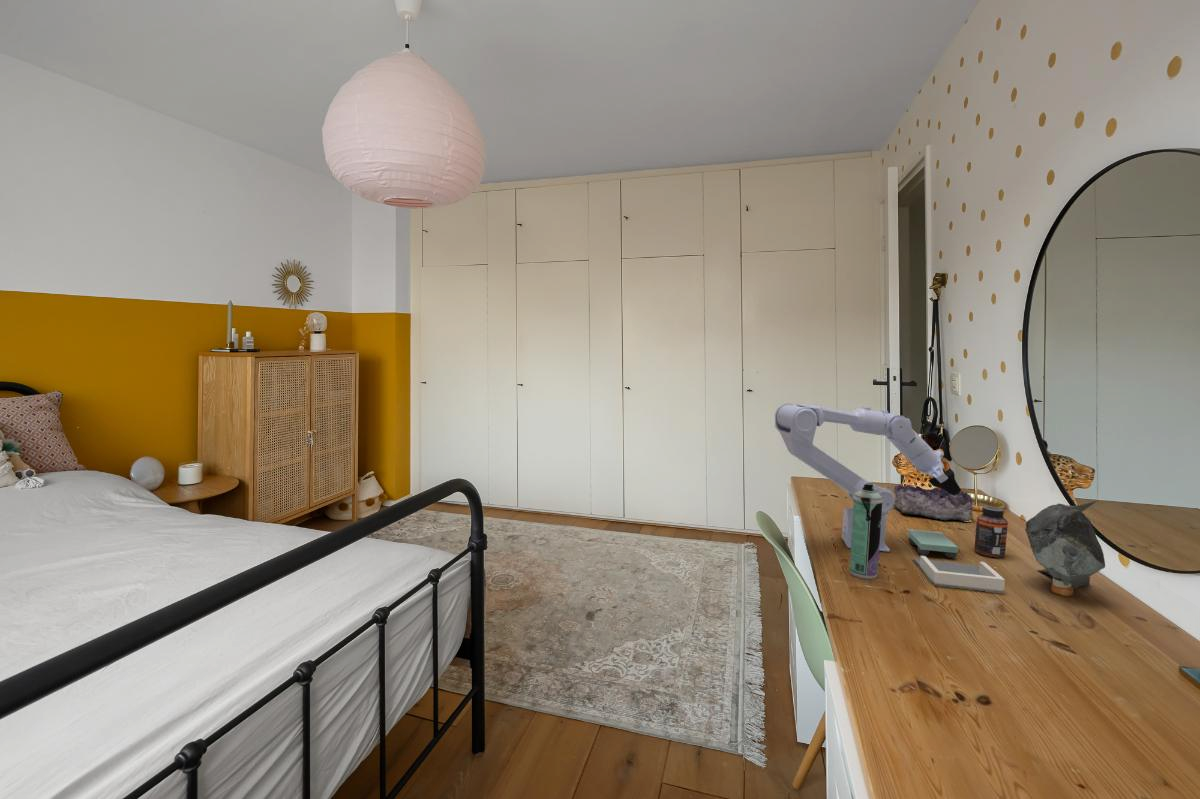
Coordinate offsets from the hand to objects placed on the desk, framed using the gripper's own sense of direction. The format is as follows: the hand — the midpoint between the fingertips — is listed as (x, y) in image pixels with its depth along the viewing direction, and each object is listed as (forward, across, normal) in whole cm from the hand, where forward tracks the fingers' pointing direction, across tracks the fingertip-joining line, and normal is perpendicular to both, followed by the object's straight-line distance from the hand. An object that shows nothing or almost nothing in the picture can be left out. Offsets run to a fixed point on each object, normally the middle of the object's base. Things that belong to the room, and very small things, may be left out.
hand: (949, 484), depth 132 cm
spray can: (-14, -27, +25) cm, 40 cm away
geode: (+20, +18, +10) cm, 29 cm away
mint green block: (+4, -11, +13) cm, 18 cm away
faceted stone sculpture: (+13, -28, -2) cm, 30 cm away
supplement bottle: (+14, -11, +4) cm, 18 cm away
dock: (0, -25, +12) cm, 27 cm away
